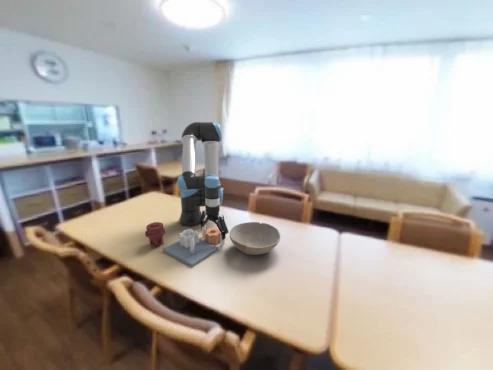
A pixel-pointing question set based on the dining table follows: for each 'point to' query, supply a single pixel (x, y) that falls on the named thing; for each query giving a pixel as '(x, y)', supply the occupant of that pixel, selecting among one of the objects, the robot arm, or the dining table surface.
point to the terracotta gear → (212, 236)
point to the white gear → (188, 238)
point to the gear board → (186, 255)
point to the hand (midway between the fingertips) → (213, 240)
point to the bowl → (254, 237)
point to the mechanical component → (155, 233)
